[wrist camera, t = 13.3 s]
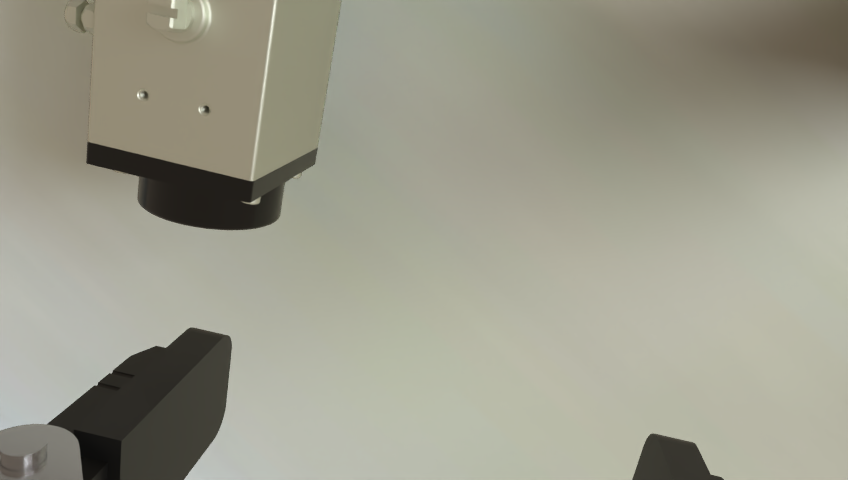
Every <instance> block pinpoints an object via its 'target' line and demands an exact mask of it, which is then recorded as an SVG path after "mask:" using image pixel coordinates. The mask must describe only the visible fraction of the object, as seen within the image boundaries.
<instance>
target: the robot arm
mask: <svg viewBox="0 0 848 480" xmlns="http://www.w3.org/2000/svg"><path fill="white" fill-rule="evenodd" d="M231 349H232V342H231V338H230V337H229V336H228V335H223V334H219V333H214V332H210V331H206V330H201V329H197V328H189V329H187V330H186V331H185V332H184V333H183V334H182V335H180V336H179V337H178V338H177V339H176V340H175V341H174V342H172V343H171V344H170V345H169V346H168V347H167V348H163V347H159V346H155V347H152V348H150V349H147V350H145V351H142V352H140V353H137V354H135V355H132V356H130V357H129V358H128V359H126V360H125V361H124V362H123V363H122V364H120V365H119V366H118V367H117V368H115V369H114V370H113V373H112V374H110V373H109V374H108V375H107V376H106V377H104V378H103V379H102V380H101V381H100V382H98V385H97V386H93V387H92V388H91V389H90V390H88V391H87V392H86V393H85V394H84V395H82V396H81V397H80V398H79V399H77V400H76V401H75V402H74V403H73V404H71V405H70V406H69V407H68V408H66V409H65V410H64V411H63V412H62V413H60V414H59V415H58V416H57V417H55V418H54V419H53V420H52V421H51V422H49V423H48V424H47V425H46V424H30V425H21V426H16V427H11V428H8V429H4V430H1V431H0V480H184V479H185V477H186V476H187V475H188V473H189V472H190V471H191V469H192V468H193V467H194V465H195V464H196V463H197V461H198V460H199V459H200V457H201V456H202V455H203V453H204V452H205V451H206V449H207V448H208V447H209V445H210V444H211V443H212V441H213V440H214V438H215V437H216V435H217V433H218V431H219V428H220V426H221V423H222V420H223V417H224V413H225V408H226V399H227V389H228V379H229V369H230V360H231ZM632 480H724V479H723V478H722V477H718V476H714V475H710V473H709V470H708V468H707V466H706V464H705V462H704V460H703V458H702V456H701V454H700V452H699V450H698V447H697V446H696V444H695V443H693V442H689V441H684V440H680V439H675V438H671V437H667V436H662V435H658V434H650V435H649V436H648V438H647V440H646V442H645V444H644V447H643V450H642V453H641V456H640V459H639V462H638V465H637V468H636V471H635V474H634V476H633V479H632Z"/></svg>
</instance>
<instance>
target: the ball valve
mask: <svg viewBox="0 0 848 480" xmlns="http://www.w3.org/2000/svg"><path fill="white" fill-rule="evenodd" d="M340 7H341V0H95V2H94V3H90V4H89V3H88V2H87V1H86V0H71V1H69V2H68V4H67V5H66V8H65V21H66V23H67V25H68V26H69V27H70V28H71V29H73V30H75V31H77V32H81V33H85V32H86V31H87V32H89V33H90V34H92V35H93V44H92V64H91V83H90V103H89V122H88V142H87V161H86V163H87V164H91V165H95V166H99V167H103V168H107V169H112V170H114V171H115V172H118V173H128V174H132V175H136V176H139V185H138V202H139V204H140V205H141V206H142V207H143V208H144V209H145V210H146V211H148V212H150V213H151V214H153V215H155V216H158V217H160V218H163V219H165V220H168V221H171V222H175V223H179V224H183V225H188V226H193V227H199V228H206V229H217V230H247V229H255V228H260V227H264V226H267V225H270V224H272V223H274V222H275V221H276V220H278V218H279V217H280V213H281V205H282V198H283V192H284V185H285V182H286V181H288V180H289V179H291V178H295V179H298V178H300V177H301V173H302V172H303V171H304V170H306V169H308V168H309V167H311V166H313V165H314V164H315V160H316V154H317V148H318V142H319V136H320V129H321V123H322V117H323V111H324V105H325V99H326V93H327V86H328V80H329V74H330V68H331V62H332V56H333V50H334V43H335V37H336V31H337V25H338V19H339V13H340Z"/></svg>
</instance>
